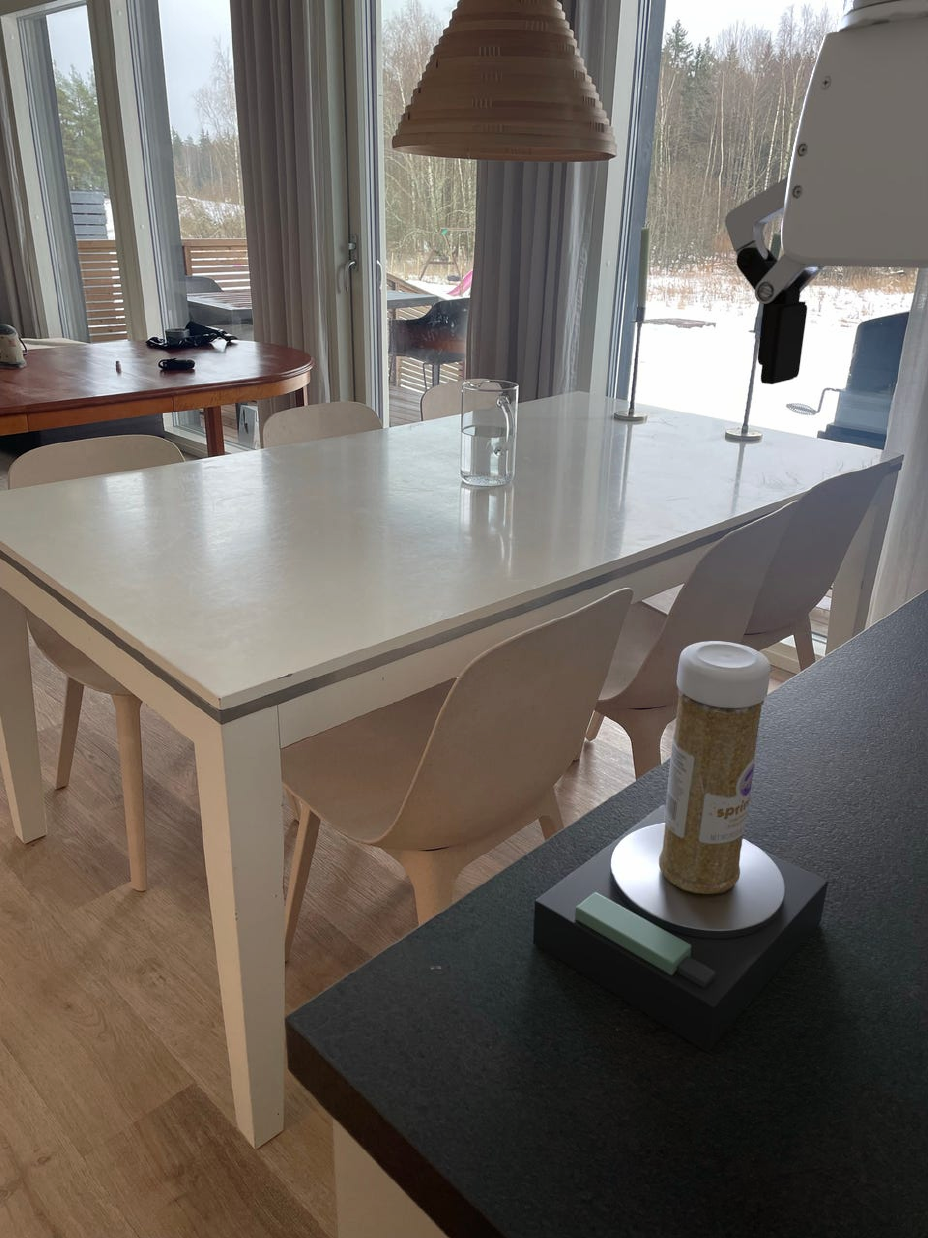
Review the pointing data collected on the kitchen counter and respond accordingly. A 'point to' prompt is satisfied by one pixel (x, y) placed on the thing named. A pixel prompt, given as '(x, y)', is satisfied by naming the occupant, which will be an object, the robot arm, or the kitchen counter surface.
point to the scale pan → (696, 912)
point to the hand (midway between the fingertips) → (869, 390)
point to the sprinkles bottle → (712, 764)
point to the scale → (671, 947)
